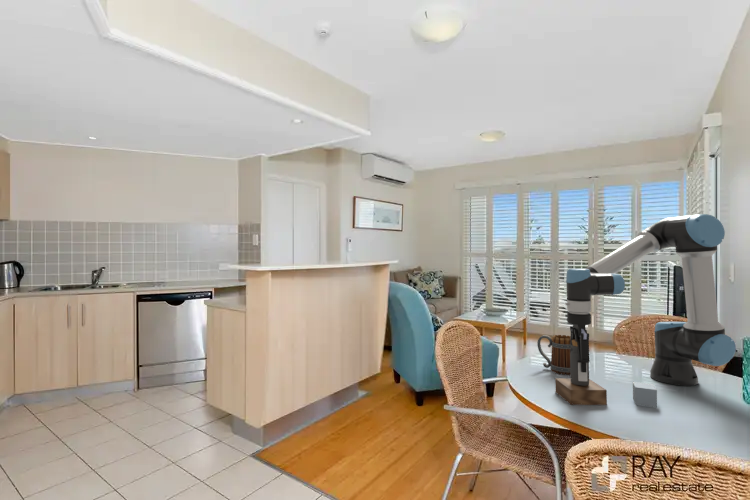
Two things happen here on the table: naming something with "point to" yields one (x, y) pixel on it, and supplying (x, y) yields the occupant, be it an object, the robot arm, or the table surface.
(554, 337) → the mug
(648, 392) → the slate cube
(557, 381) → the walnut block
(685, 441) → the table surface
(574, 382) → the bottle
